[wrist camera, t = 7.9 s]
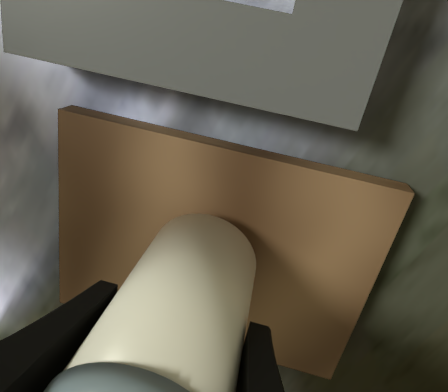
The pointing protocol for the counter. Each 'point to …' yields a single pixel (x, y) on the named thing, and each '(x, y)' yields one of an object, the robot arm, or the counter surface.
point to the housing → (219, 48)
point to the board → (233, 213)
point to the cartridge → (172, 316)
